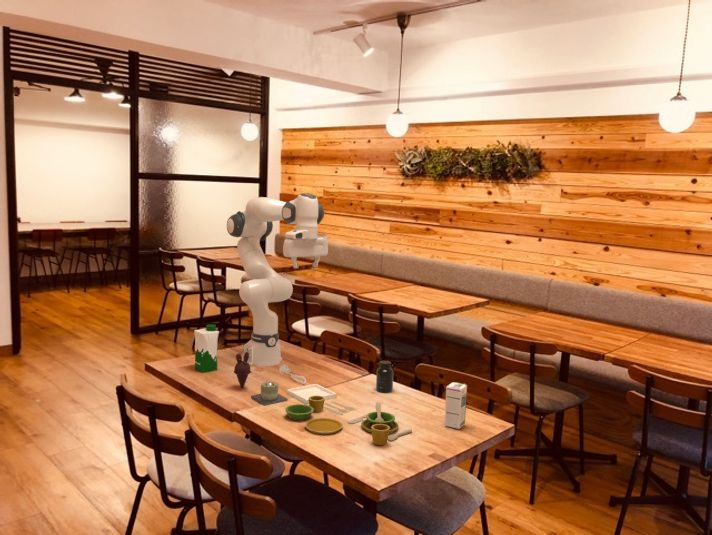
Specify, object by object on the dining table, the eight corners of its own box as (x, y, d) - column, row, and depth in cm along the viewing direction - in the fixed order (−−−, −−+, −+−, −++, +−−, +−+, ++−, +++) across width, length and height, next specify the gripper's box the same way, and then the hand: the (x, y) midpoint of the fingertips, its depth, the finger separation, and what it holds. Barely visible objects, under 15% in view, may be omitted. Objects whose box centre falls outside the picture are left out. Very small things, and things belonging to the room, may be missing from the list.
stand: (251, 398, 230) (251, 381, 229) (273, 393, 236) (274, 377, 235) (264, 406, 222) (264, 389, 221) (287, 401, 228) (288, 384, 228)
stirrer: (310, 385, 248) (310, 374, 248) (303, 387, 246) (303, 376, 245) (284, 373, 264) (284, 362, 263) (277, 374, 261) (277, 364, 261)
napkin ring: (258, 396, 229) (258, 383, 229) (272, 393, 233) (272, 381, 233) (266, 400, 225) (266, 388, 224) (280, 398, 229) (280, 385, 228)
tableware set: (417, 433, 205) (418, 415, 204) (362, 457, 184) (363, 437, 184) (331, 401, 232) (332, 385, 232) (276, 418, 212) (276, 401, 211)
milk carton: (220, 372, 260) (221, 326, 258) (201, 375, 254) (201, 329, 252) (210, 367, 267) (210, 322, 264) (191, 370, 261) (191, 325, 258)
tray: (286, 394, 236) (286, 389, 236) (315, 388, 245) (316, 383, 245) (306, 404, 225) (306, 400, 225) (336, 398, 234) (336, 393, 234)
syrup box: (459, 429, 208) (462, 388, 206) (443, 425, 211) (446, 385, 209) (465, 424, 213) (467, 384, 211) (449, 420, 216) (451, 381, 214)
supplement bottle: (380, 386, 250) (382, 358, 249) (395, 390, 247) (396, 361, 245) (372, 391, 244) (374, 362, 243) (387, 394, 241) (389, 365, 239)
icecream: (239, 393, 234) (240, 356, 233) (229, 388, 240) (230, 351, 238) (254, 389, 239) (255, 353, 237) (244, 385, 245) (244, 349, 243)
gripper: (323, 233, 254) (321, 265, 256) (281, 233, 241) (280, 267, 243) (331, 234, 249) (330, 267, 251) (290, 234, 236) (288, 269, 238)
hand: (305, 267), depth 247 cm, fingers open, 8 cm apart
